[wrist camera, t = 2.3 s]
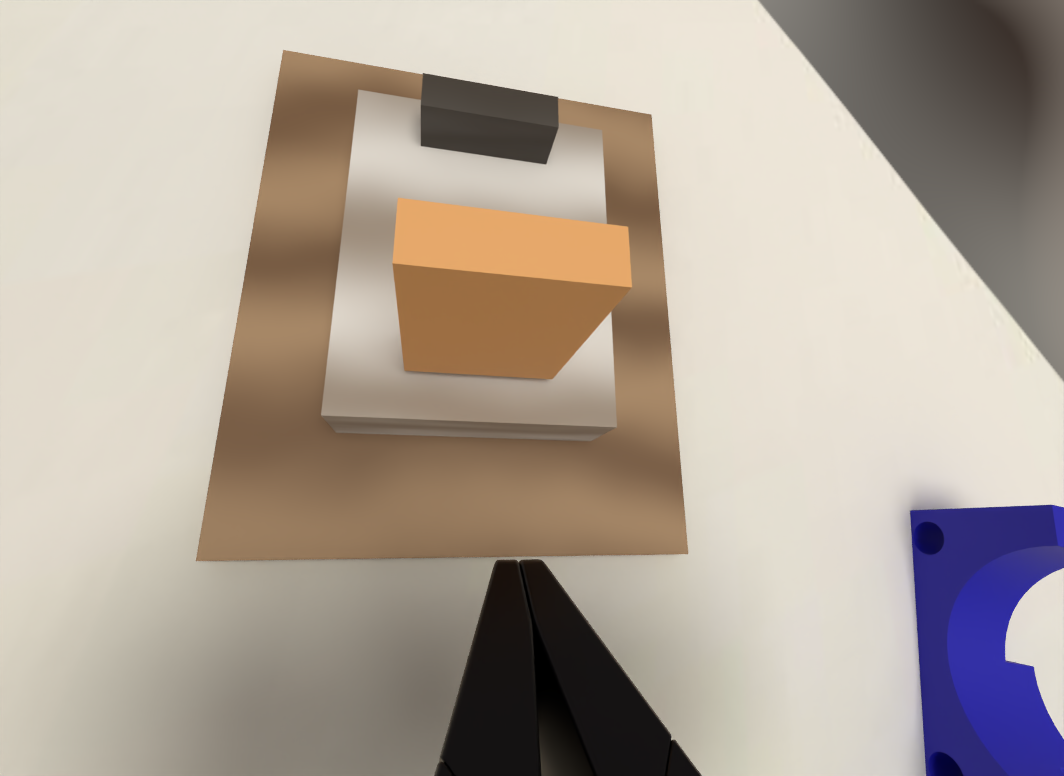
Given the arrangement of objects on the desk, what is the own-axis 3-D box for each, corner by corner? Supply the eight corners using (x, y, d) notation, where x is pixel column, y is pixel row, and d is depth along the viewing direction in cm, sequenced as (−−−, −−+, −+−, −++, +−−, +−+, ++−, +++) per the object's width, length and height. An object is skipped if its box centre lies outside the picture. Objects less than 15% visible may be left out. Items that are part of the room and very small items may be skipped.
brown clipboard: (676, 553, 21) (768, 561, 16) (207, 559, 18) (106, 573, 12) (643, 129, 27) (701, 24, 22) (288, 69, 24) (246, -76, 18)
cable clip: (1012, 812, 22) (1223, 912, 16) (924, 801, 21) (1110, 902, 15) (982, 527, 25) (1145, 526, 20) (907, 510, 24) (1051, 504, 19)
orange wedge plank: (551, 339, 18) (552, 379, 17) (407, 327, 17) (404, 370, 16) (627, 226, 11) (631, 287, 11) (397, 197, 10) (392, 263, 10)
